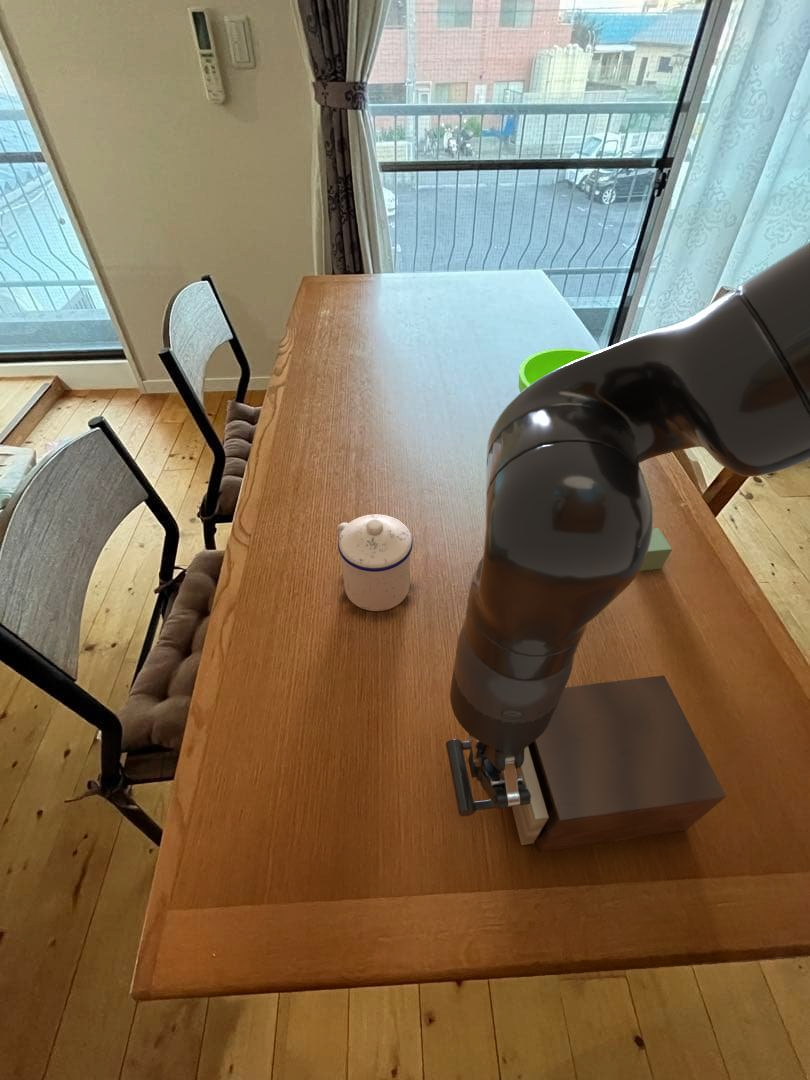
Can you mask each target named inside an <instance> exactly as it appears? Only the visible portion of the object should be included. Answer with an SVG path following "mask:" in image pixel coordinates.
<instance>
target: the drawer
mask: <svg viewBox="0 0 810 1080" xmlns="http://www.w3.org/2000/svg"><path fill="white" fill-rule="evenodd" d="M445 748H446V753H447V759H448V763H449V764H448V765H449V768H450V769H449V770H450V774H451V779H452V784H453V785H452V786H453V790H454V795H455V802H456V806H457V811H458V815H459V816H460V817H469V816H472V815H474V814H476V812H477V811H478V812H479V811H485V810H491V809H497V808H496V806H495V805H494V803H493V802H492V800H491V799H486V800H479V801H474V796H473V792H472V791H473V790H472V787H471V782H470V778H469V773H468V768H467V763H466V759H465V754H464V751H468V750H471V744H470V743H469V740H468V741H467V740H466V741H462V740H461V739H458V738H453V739H449V740H448V741H446V742H445ZM516 771H517V776H522V777H523V783H524V784H525V785H526V786H527V788H528V790H529V791H530V794H531V798H530V800H531V801H530V804H526V805H519V806H512V807H511V809H512V814H513V818H514V821H515V826H516V830H517V834H518V838H519V842H520V845H521V846H525V845H532V844H535V842H536V838H537V836H538V835H539V833H540V831H541V830H542V828H543V826H544V828H545V829H546V828H547V826H548V825H549V823H550V821H551V820H552V818H553V816H554V815H555V813H554V809H553V806H552V803H551V799H550V796H549V793H548V789H547V786H546V783H545V779H544V776H543V773H542V769H541V766H540V763H539V760H538V756H537V753H536V750H535V746H534V743H533V742H532V743H531V744H530V745H528V746H527V747H526V748H525V750H524V762H523V765H522V766H521V767H520V768H518V769H516Z"/></svg>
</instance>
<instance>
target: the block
mask: <svg viewBox="0 0 810 1080" xmlns="http://www.w3.org/2000/svg"><path fill="white" fill-rule="evenodd" d="M672 551H673V548H672V547H671V545H670V543H669V542H668V540H667V539H666V537H665V536H664V534H663V533H662V531H661V529H660V528H657V527H656V528H653V530H652V537H651V541H650V545H649V549H648V552H647V555H646V558H645V560H644V563H643V565H642V567H641V569H640V571H639V572H642V571H643V572H644V571H652V570H653V571H654V570H662V569H663V567H664V565H665V564H666V562H667V561H668V558H669V556H670V554H671V552H672Z"/></svg>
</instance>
